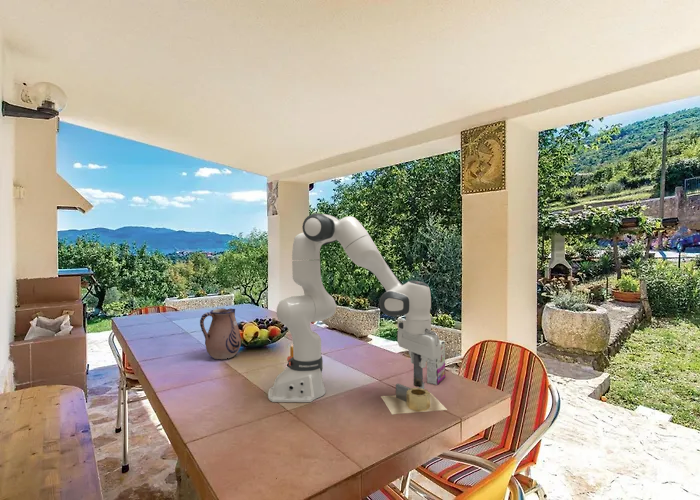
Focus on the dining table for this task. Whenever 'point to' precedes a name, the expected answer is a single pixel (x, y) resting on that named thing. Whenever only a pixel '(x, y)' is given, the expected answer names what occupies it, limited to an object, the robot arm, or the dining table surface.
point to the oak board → (401, 406)
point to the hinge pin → (418, 371)
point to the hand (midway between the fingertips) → (418, 365)
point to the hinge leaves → (414, 397)
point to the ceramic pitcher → (221, 333)
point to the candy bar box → (436, 367)
